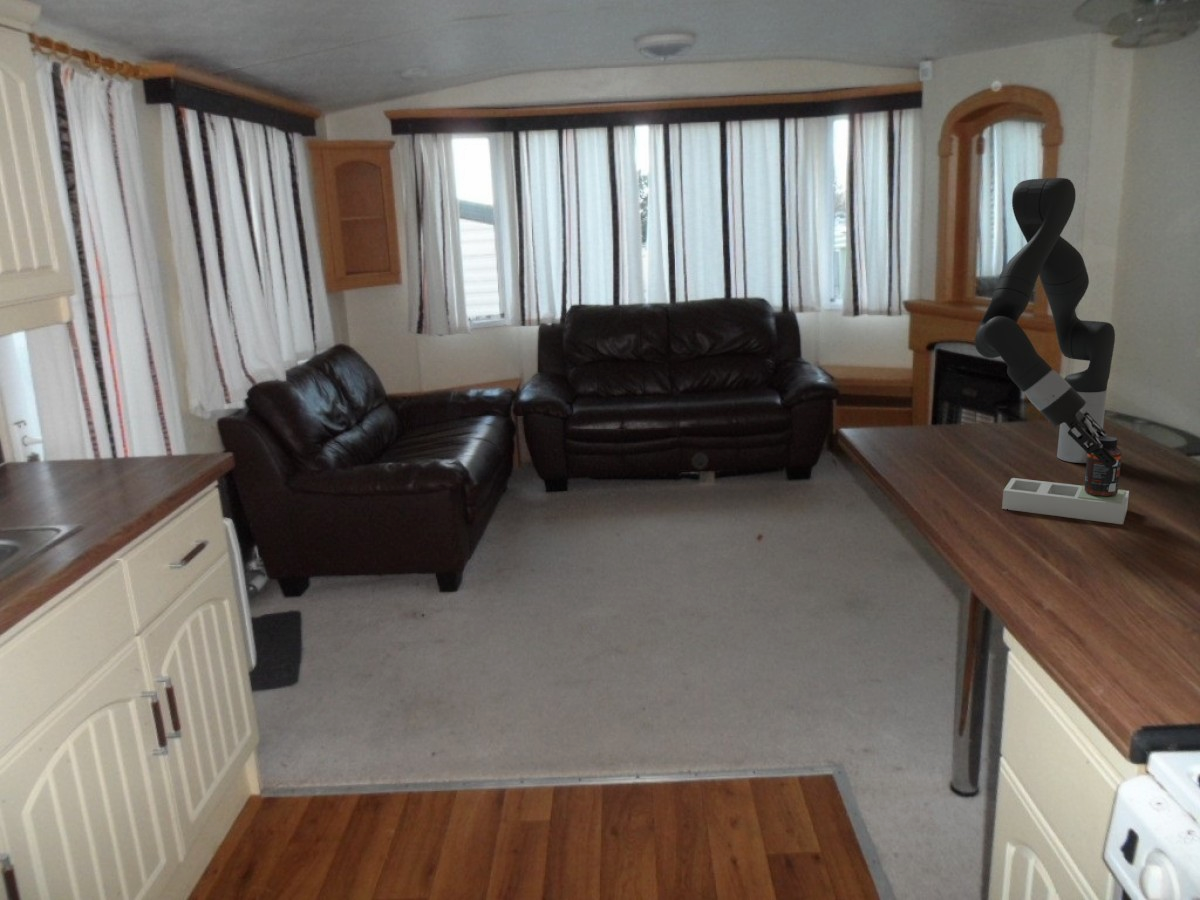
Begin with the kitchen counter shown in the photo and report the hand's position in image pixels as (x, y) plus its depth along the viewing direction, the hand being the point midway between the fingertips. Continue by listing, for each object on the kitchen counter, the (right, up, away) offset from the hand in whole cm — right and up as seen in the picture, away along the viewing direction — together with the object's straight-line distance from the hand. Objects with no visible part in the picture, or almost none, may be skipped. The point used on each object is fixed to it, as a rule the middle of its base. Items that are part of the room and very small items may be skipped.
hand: (1114, 460), depth 186 cm
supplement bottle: (-1, -7, +3) cm, 7 cm away
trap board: (-6, -10, +7) cm, 14 cm away
